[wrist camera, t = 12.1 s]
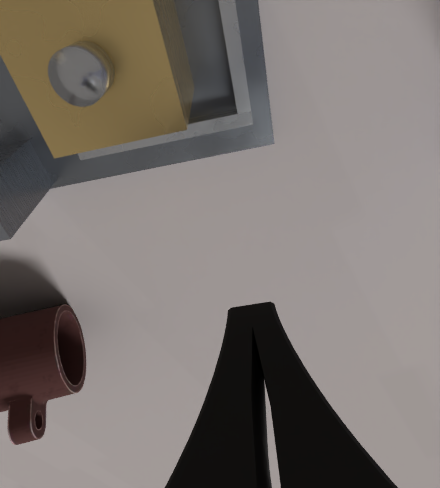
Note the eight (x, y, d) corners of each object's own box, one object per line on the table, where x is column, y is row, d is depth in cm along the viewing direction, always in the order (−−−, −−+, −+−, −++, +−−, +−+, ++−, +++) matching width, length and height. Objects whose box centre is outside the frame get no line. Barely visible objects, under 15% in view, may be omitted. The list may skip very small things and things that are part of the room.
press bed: (238, -146, 12) (258, -250, 7) (271, 135, 18) (296, 201, 13) (-119, -42, 14) (-342, -57, 8) (19, 186, 19) (-56, 265, 14)
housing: (164, -42, 13) (128, -59, 7) (194, 87, 15) (184, 143, 10) (49, -11, 13) (-62, -5, 8) (98, 109, 16) (40, 174, 11)
